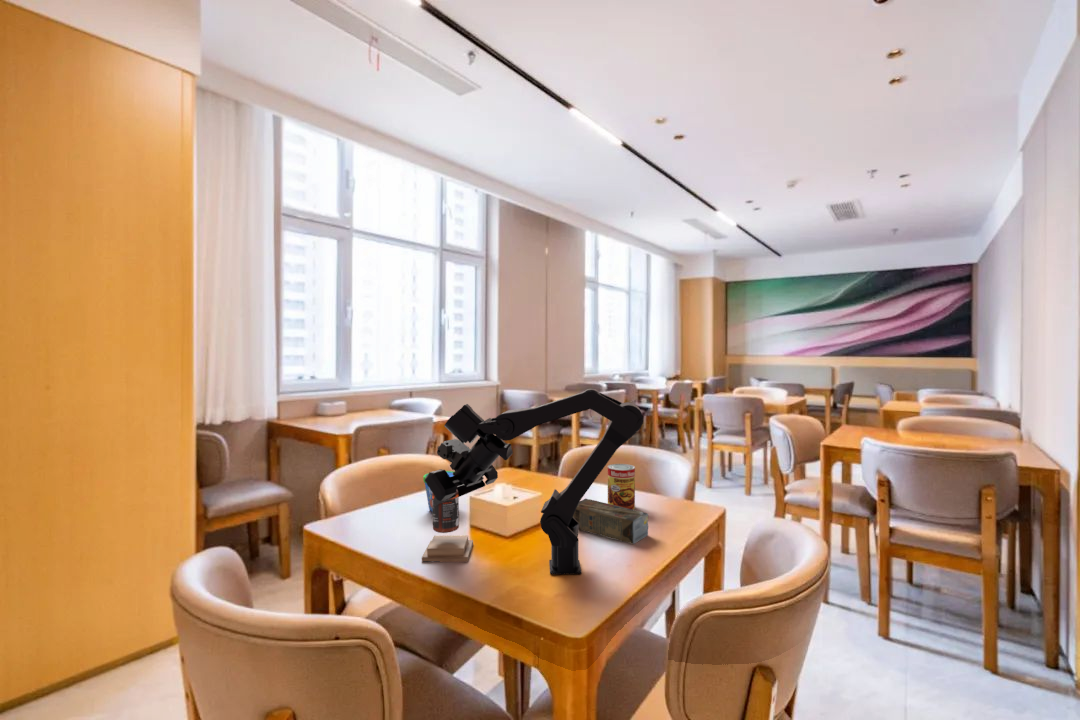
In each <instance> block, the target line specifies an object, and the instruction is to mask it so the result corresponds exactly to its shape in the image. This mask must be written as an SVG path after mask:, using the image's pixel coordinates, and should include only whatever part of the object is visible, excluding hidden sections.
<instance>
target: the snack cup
mask: <svg viewBox="0 0 1080 720" xmlns="http://www.w3.org/2000/svg"><path fill="white" fill-rule="evenodd" d="M445 471H446V472H447V474H448V475H449V476H450V477H452V476H453V474H452V473H453V472H455V470H453V471H452V470H445ZM428 474H429V472H428V473H425V474H424V475H423V476H422V480H423V483H424V485H425V486H424V487H425V492H426V498H427V505H428V509H429V511H431V512H432V513H433V510H432V493H433V492H432V491H431V489H430V488H429V486H428V485H427V483H426V482H425V477H426V476H427V475H428Z"/></svg>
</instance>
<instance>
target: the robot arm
mask: <svg viewBox="0 0 1080 720" xmlns="http://www.w3.org/2000/svg"><path fill="white" fill-rule="evenodd" d="M587 410H591V411H593V412H596V413H597V414H599V415H600V416H602V417H603V418H605V419H607V420H609V423H608V425H607V428H606V429H605V431H604V434H603V436H602V437H601V439H600V440H599V442H598V443H597V445H596V446H595V447H594V448H593V450H592V451H591V453H590V454H589V455H588V457H587V458H586V460H585V462H584V463H583V464H582V466H581V467H580V468H579V470H578V471H577V472H576V473H575V475H574V477H572V479H571V480H570V482H569V484H567V486H566V487H565V488H564V489H563V490H561V491H560V492H559V491H558V490H557V489H556V488H554V490H553V492H552V494H551V496H550V498H549V499H548V500H547V501H545V502H544V504H543V506H542V509H541V510H540V513H541V517H540V521H539V524H540V528H541V530H542V531H543V533H544V534H546V535H547V536H548V539H549V541H550V544H551V545H550V546H551V549H550V551H551V553H550V555H551V557H550V558H551V559H549V561H548V563H549V565H548V566H549V574H550V575H582V572H583V571H582V567H581V562H580V559H579V531H580V530H579V527H580V524H579V523H578V521H577V520H576V519H575V518H574V517H573V515H574V512H575V510H576V508H577V506H578V503H579V501H582V500H583V499H582V498H583V497H585V494H586V493H587V492H588V490H589V489H590V487H592V485H593V483H594V482H595V480H596V479H597V478H598V476H599V475H600V474H601V472H602V471H603V470H604V468H605V466H607V464H608V463H609V462H610V460H611V459H612V457H613V456H614V454H615V453H616V452H617V450H619V448H620V447H621V446H623V445H624V444H625V443H627V442H628V441H629V440H630V439H631V438H632V437H633V436H634V435H635V434H636V433H637V432H638V431H639V430H640V429H641V428H642V426H643V424H644V416H643V413H642V410H641V409H640V407H639V406H637V404H635V403H633V402H628V401H627V402H621V401H619V400H617V399H615V398H613V397H611V396H608V395H606V394H604V393H601V392H600V391H599V390H597V389H595V388H587V389H586V390H584V391H581V392H579V393H575V394H572V395H569V396H565V397H563V398H560V399H557V400H554V401H551V402H547V403H544V404H542V405H539V406H532V407H526V408H525V407H524V408H516V409H508V410H505V411H504V412H502V413H500V414H499V415H497V416H496V417H493V418H491V417H488V418H487V419H485V420H484V419H483V418H482V417H481V416H480V415H479V414H478V413H477V412H476V411H475V410H474V409H473V407H472V406H471V405H469V404H468V403H466V404H464V405H462V407H461V408H459V409H458V410H457V411H456V412H454V414H453V415H451V416H450V417H449V418H448V419H447V421H446V422H445V424H444V427H445V429H446V430H448V431H449V432H450V433H451V434H452V435H453V436H454V437H455V438H456V439H455V438H453V439H448V440H444V441H443V442H441V443H440V445H439V446H437V451H436V454H437V456H439V457H440V458H441V459H442V460H447V461H448V462H449V463H450V464H449V467H450V468H451V469H452V470H453V471H454V472H453V473H452V474H453V476H452V477H450V476H449V475H448V474H447V472H446V471H447V470H445V469H443V468H442V469H437V470H434V471H429V472H428V473H429V474H428V475H427V476H426V477H425V482H426V483H427V485H428V486H429V488H430V489H431V491H432V492H433V494H434V500H433V503H434V505H435V506H436V505H438V504H441V503H443V502H445V501H447V500H449V499H452V498H454V497H456V495H455V493H456V490H458V497H459V498H460V497H462V496H465V495H467V494H469V493H470V494H471V493H472V492H474V491H477V490H480V489H482V488H484V487H485V486H486V485H487V486H489V485H491V484H493V483H495V481H496V480H498V478H499V473H498V471H497V469H496V468H495V466H493V464H494V463H495V461H496V460H497V459H498V458H499V456H500V458H501V459H503V460H504V461H507V460H508V459H509V458H510V457H512V455H513V453H514V452H513V449H512V443H507V442H506V441H511V440H513V439H515V438H518V437H519V436H522V435H523V434H525V433H526V432H528V431H530V430H532V429H534V428H535V427H538V426H540V425H542V424H546V423H549V422H552V421H555V420H559V419H562V418H565V417H568V416H571V415H574V414H578V413H581V412H584V411H587ZM478 437H479V438H478ZM477 438H478V439H477ZM476 439H477V441H475V440H476ZM474 441H475V442H474ZM473 442H474V444H473V445H472V447H471V448H470V447H469V446H468V445H466V444H467V443H469V444H472V443H473ZM452 470H451V471H452ZM484 477H485V478H484ZM484 479H485V481H484Z"/></svg>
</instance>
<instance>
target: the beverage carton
mask: <svg viewBox="0 0 1080 720" xmlns="http://www.w3.org/2000/svg"><path fill="white" fill-rule="evenodd" d="M573 517H574V518H575V519H576V520H577V521H578V523H579V524H580V527H579V531H583V532H588V533H589V534H590V533H591V534H593V535H597V536H601V537H605V538H609V539H612V540H616V541H620V542H624V543H629V544H632V545H634V544H636V543H637V542H639V541H641V540H643V539H644V538H646V537H648V536H649V513H647V512H645V511H641V510H640V511H639V510H635V509H634V510H632V509H628V508H624V507H620V506H616V505H612V504H608V502H603V501H598V500H594V499H588V498H584V499H581V500H580V501H579V503H578V506H577V508H576V510H575V512H574V515H573Z"/></svg>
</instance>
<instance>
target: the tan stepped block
mask: <svg viewBox="0 0 1080 720" xmlns="http://www.w3.org/2000/svg"><path fill="white" fill-rule="evenodd" d="M473 545H474V540H473V539H469V535H460V534H459V535H434V536H433V537H432V539H431V540H430V541H429V542H428V545H427V546H426V549H425V551H424V552H423V554H422V556H421V562H422V561H440V562H439V563H441V562H442V563H444V562H445V563H446V562H447V563H450V562H455V563H457V562H459V563H460V562H461V563H463V562H469V559H470V556H471V552H472V550H473Z"/></svg>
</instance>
